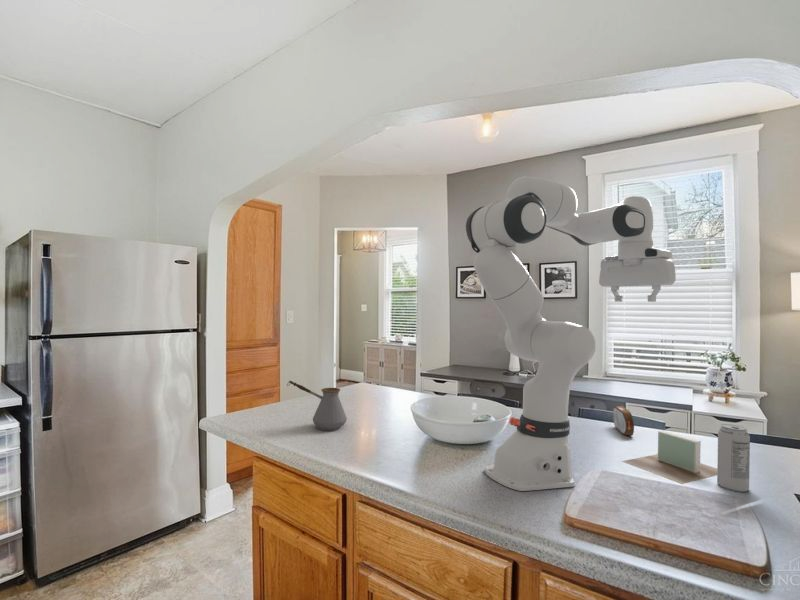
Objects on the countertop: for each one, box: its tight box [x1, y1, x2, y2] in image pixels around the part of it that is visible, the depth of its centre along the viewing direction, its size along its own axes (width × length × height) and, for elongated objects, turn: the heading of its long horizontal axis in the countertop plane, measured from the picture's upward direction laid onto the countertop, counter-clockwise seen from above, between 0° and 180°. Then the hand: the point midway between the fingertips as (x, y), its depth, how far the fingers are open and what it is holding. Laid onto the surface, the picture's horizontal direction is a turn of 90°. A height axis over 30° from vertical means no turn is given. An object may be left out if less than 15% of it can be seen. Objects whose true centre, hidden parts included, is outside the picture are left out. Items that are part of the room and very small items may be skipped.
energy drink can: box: [716, 423, 751, 493], centre depth 100 cm, size 6×6×15 cm
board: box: [621, 453, 717, 485], centre depth 113 cm, size 20×16×1 cm
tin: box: [612, 405, 635, 437], centre depth 147 cm, size 15×3×8 cm, turn 168°
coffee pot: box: [286, 380, 348, 432], centre depth 142 cm, size 21×12×15 cm, turn 81°
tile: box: [657, 430, 702, 473], centre depth 114 cm, size 2×10×8 cm, turn 26°
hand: (634, 301), depth 121 cm, fingers open, 8 cm apart
